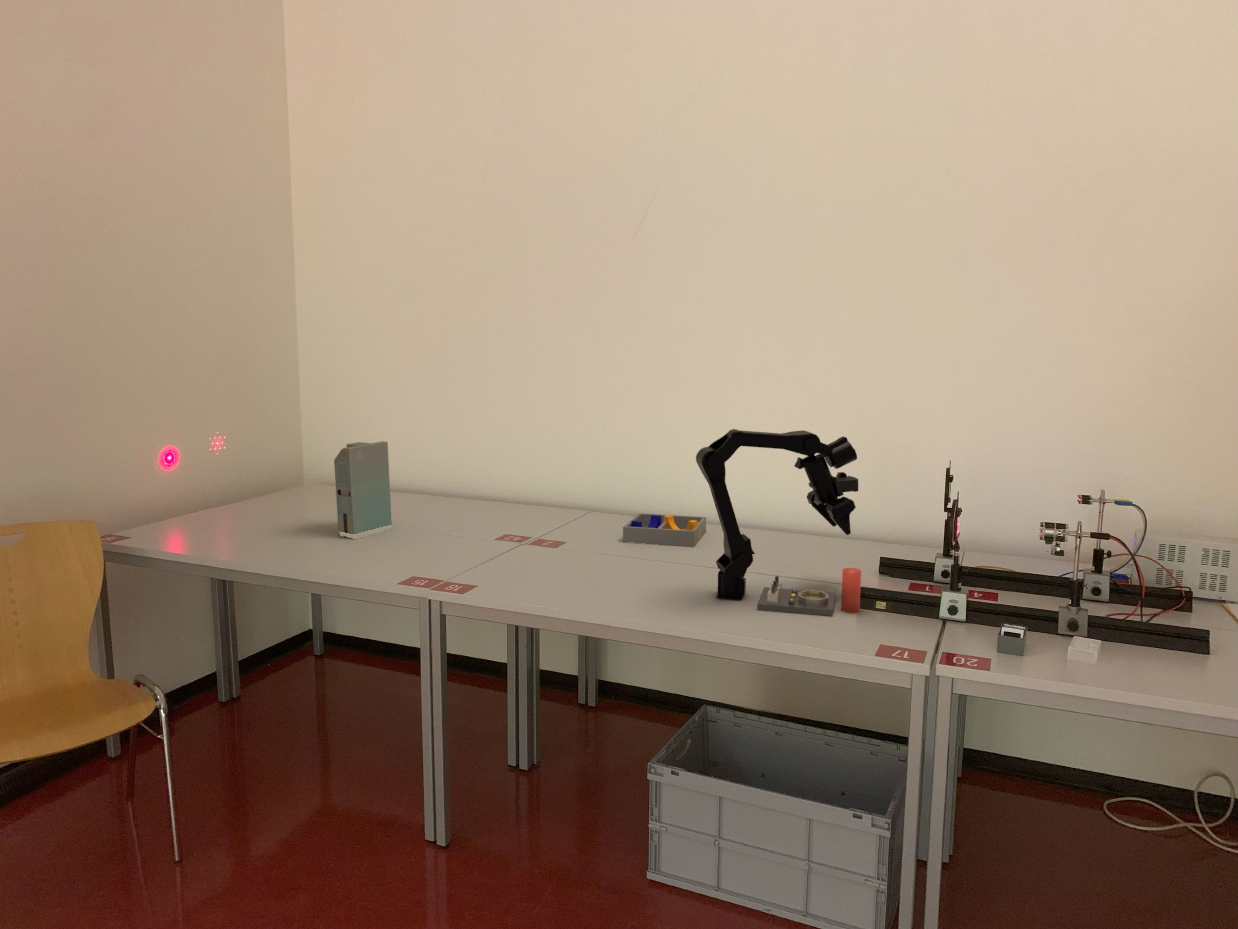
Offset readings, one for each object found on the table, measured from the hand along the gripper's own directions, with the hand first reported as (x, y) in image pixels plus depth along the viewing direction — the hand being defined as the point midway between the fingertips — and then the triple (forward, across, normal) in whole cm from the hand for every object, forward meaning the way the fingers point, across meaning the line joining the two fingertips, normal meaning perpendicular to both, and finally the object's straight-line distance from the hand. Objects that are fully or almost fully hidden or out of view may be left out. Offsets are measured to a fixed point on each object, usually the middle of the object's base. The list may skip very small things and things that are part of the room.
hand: (841, 530), depth 231 cm
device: (-39, +85, +127) cm, 157 cm away
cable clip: (-1, +65, +43) cm, 78 cm away
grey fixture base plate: (+9, -9, +20) cm, 24 cm away
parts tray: (+1, +62, +38) cm, 73 cm away
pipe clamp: (+3, +60, +33) cm, 69 cm away
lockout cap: (+14, -15, +10) cm, 22 cm away
